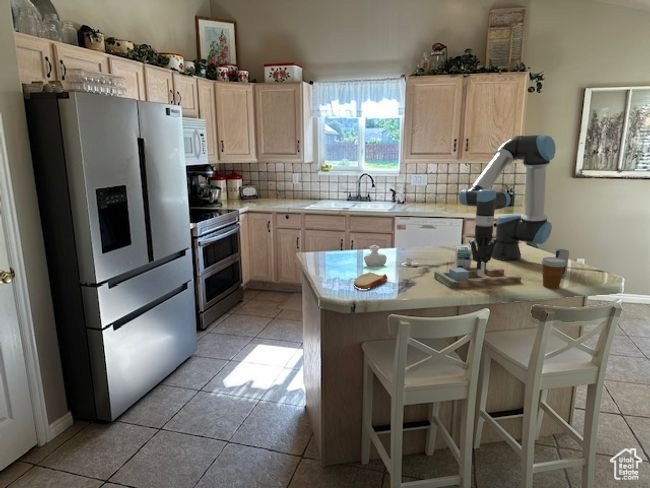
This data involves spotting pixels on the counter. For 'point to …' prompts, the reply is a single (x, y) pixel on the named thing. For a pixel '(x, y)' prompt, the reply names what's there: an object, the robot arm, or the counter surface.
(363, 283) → the bread slice
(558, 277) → the disposable coffee cup
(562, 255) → the energy drink
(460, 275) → the cube
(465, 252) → the light bulb box
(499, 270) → the trap lane
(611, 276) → the counter surface
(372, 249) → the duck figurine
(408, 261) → the teacup and saucer
